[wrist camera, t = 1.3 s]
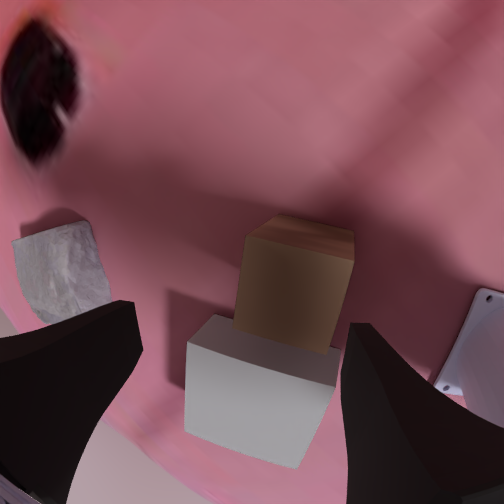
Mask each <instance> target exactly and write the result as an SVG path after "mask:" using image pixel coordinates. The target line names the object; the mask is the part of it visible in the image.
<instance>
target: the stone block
mask: <svg viewBox="0 0 504 504" xmlns="http://www.w3.org/2000/svg"><path fill="white" fill-rule="evenodd" d="M11 245H12V246H13V248H14V256H15V264H16V268H17V276H18V279H19V283H20V287H21V289H22V292H23V295H24V297H25V298H26V300H27V302H28V303H29V304H30V306H31V309H32V311H33V312H34V313H36V315H37V317H38V318H39V319H41V320H42V322H43V323H45V324H49V323H50V324H55V323H58V322H61V321H63V320H66V319H69V318H71V317H74V316H76V315H79V314H81V313H84V312H87V311H89V310H92V309H94V308H97V307H99V306H102V305H105V304H108V303H111V302H112V299H111V291H110V285H109V282H108V280H107V277H106V275H105V272H104V268H103V266H102V264H101V262H100V259H99V255H98V249H97V245H96V242H95V240H94V238H93V234H92V229H91V225H90V223H89V222H88V221H85V220H82V221H78V222H74V223H70V224H66V225H62V226H59V227H55V228H52V229H49V230H45V231H42V232H38V233H35V234H33V235H29V236H26V237H22V238H20V239H16V240H14V241H12V244H11Z"/></svg>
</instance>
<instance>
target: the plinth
mask: <svg viewBox="0 0 504 504" xmlns="http://www.w3.org/2000/svg"><path fill="white" fill-rule="evenodd" d="M232 326H233V319H230V318H226V317H223V316H220V315H217V314H214V315H213V316H212V317H211V318H210V319H209V320H208V321H207V322H206V323H205V324H204V325H203V326H202V327H201V328H200V329H199V330H198V331H197V332H196V333H195V334H194V335H193V336H192V337H191V338H190V339H189V340H188V341H187V354H186V380H185V432H187V433H190V434H192V435H195V436H197V437H199V438H202V439H204V440H207V441H209V442H212V443H214V444H217V445H220V446H222V447H225V448H228V449H231V450H234V451H236V452H239V453H242V454H245V455H248V456H251V457H254V458H258V459H261V460H264V461H267V462H271V463H274V464H278V465H281V466H285V467H289V468H293V469H297V468H298V466H299V464H300V463H301V461H302V459H303V457H304V455H305V453H306V451H307V449H308V447H309V445H310V443H311V441H312V439H313V437H314V435H315V432H316V430H317V428H318V426H319V424H320V422H321V420H322V417H323V415H324V413H325V411H326V409H327V406H328V404H329V402H330V399H331V397H332V395H333V392H334V390H335V388H336V382H337V375H338V368H339V361H340V353H341V349H337V348H333V347H329V349H328V352H327V355H324V354H320V353H316V352H312V351H309V350H305V349H301V348H297V347H294V346H290V345H286V344H283V343H279V342H276V341H272V340H269V339H265V338H262V337H259V336H255V335H252V334H249V333H245V332H242V331H239V330H236V329H232Z"/></svg>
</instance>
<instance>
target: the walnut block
mask: <svg viewBox="0 0 504 504" xmlns="http://www.w3.org/2000/svg"><path fill="white" fill-rule="evenodd" d="M354 262H355V251H354V231H351V230H347V229H343V228H339V227H335V226H330V225H326V224H322V223H317V222H313V221H309V220H304V219H300V218H295V217H290V216H286V215H281V214H278V215H277V216H275V217H273V218H272V219H270V220H269V221H267V222H266V223H264V224H262V225H261V226H259V227H258V228H256V229H255V230H253V231H251V232H250V233H248V234H247V235H246V236H245V243H244V249H243V256H242V263H241V270H240V277H239V284H238V291H237V298H236V305H235V312H234V319H233V326H232V329H236V330H239V331H242V332H245V333H249V334H252V335H255V336H259V337H262V338H265V339H269V340H272V341H276V342H279V343H283V344H286V345H290V346H294V347H297V348H301V349H305V350H309V351H312V352H316V353H320V354H324V355H327V352H328V349H329V346H330V343H331V340H332V337H333V334H334V331H335V328H336V325H337V321H338V318H339V315H340V312H341V308H342V305H343V301H344V298H345V295H346V291H347V288H348V284H349V280H350V277H351V273H352V269H353V265H354Z"/></svg>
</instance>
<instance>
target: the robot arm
mask: <svg viewBox="0 0 504 504" xmlns="http://www.w3.org/2000/svg"><path fill="white" fill-rule="evenodd" d="M489 295H491V297H490V299H489V300H487V301H486V298H487V297H488V296H489ZM142 352H143V346H142V341H141V336H140V331H139V326H138V321H137V316H136V310H135V304H134V302H130V301H123V300H118V301H114V302H111V303H108V304H105V305H102V306H99V307H97V308H94V309H92V310H89V311H87V312H84V313H81V314H79V315H76V316H74V317H71V318H69V319H66V320H63V321H61V322H58V323H55V324H52V325H50V326H47V327H44V328H41V329H38V330H34V331H31V332H27V333H23V334H19V335H15V336H9V337H4V338H0V504H40V503H41V504H66V501H67V497H68V494H69V490H70V486H71V483H72V480H73V477H74V474H75V471H76V469H77V466H78V463H79V461H80V459H81V456H82V454H83V452H84V449H85V447H86V445H87V442H88V441H89V438H90V437H91V434H92V433H93V430H94V428H95V427H96V425H97V423H98V421H99V420H100V418H101V416H102V415H103V413H104V412H105V410H106V409H107V408H108V406H109V405H110V403H111V402H112V401H113V399H114V398H115V396H116V395H117V393H118V392H119V391H120V389H121V388H122V386H123V385H124V383H125V382H126V381H127V379H128V378H129V376H130V375H131V373H132V372H133V370H134V368H135V366H136V364H137V362H138V360H139V358H140V356H141V354H142ZM446 385H448V386H447V387H445V388H444V386H446ZM443 393H446V394H454V395H461V396H464V399H465V402H466V406H467V409H468V410H467V409H466V408H464V407H462V406H461V405H459V404H457V403H456V402H454V401H453V400H451V399H450V398H449V397H447V396H446V395H444V394H443ZM341 405H342V413H343V422H344V430H345V438H346V447H347V457H348V484H347V502H346V504H504V293H501V292H497V291H493V290H490V289H486V288H481V289H479V290H478V291H477V293H476V295H475V297H474V300H473V302H472V305H471V308H470V310H469V312H468V315H467V317H466V320H465V322H464V324H463V327H462V329H461V331H460V333H459V336H458V338H457V340H456V342H455V344H454V346H453V348H452V350H451V352H450V354H449V356H448V358H447V360H446V362H445V364H444V366H443V368H442V370H441V372H440V374H439V376H438V377H437V379H436V381H435V383H434V385H431V384H430V383H429V382H428V381H426V380H425V379H424V378H423V377H422V376H421V375H420V374H419V373H417V372H416V371H415V370H414V369H413V368H412V367H411V366H410V365H409V364H408V363H407V362H406V361H405V360H404V359H403V358H402V357H401V356H400V355H399V354H398V353H397V352H396V351H395V350H394V349H393V348H392V347H391V346H390V345H389V344H388V343H387V341H386V340H385V339H384V338H383V337H382V336H381V335H380V334H379V333H378V332H377V331H376V329H375V328H374V327H373V326H372V325H371V324H370V323H350V328H349V334H348V339H347V344H346V349H345V354H344V359H343V364H342V369H341ZM20 489H21V490H22V491H21V490H20ZM24 492H25V493H26V494H25V493H24ZM27 494H28V495H29V496H31V497H32V498H31V497H29V496H28V495H27ZM33 498H34V499H35V500H37V501H38V502H40V503H38V502H37V501H35V500H34V499H33Z"/></svg>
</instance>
